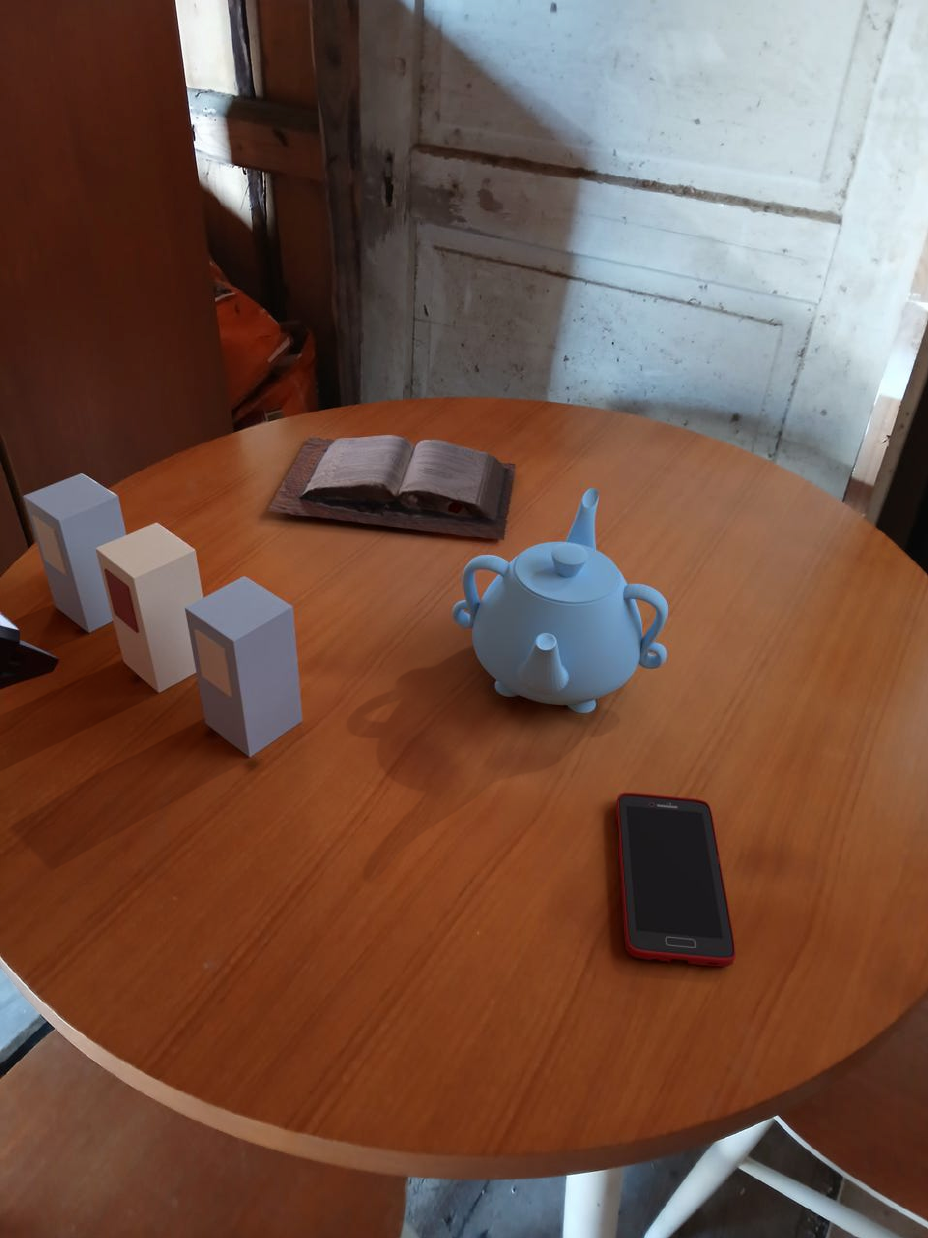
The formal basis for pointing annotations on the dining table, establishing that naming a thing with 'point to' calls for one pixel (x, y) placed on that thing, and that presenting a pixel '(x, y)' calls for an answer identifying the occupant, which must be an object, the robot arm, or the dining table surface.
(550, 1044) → the dining table surface
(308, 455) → the book
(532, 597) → the teapot
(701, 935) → the cell phone
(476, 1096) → the dining table surface
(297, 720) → the block right
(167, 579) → the cream block
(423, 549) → the dining table surface
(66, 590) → the block left
